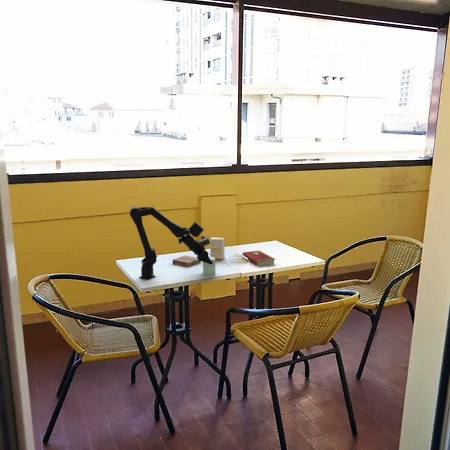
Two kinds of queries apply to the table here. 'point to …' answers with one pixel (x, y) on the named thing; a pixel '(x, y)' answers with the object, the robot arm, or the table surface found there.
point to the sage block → (209, 267)
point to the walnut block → (186, 261)
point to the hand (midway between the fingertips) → (211, 261)
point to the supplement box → (217, 248)
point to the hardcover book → (258, 258)
